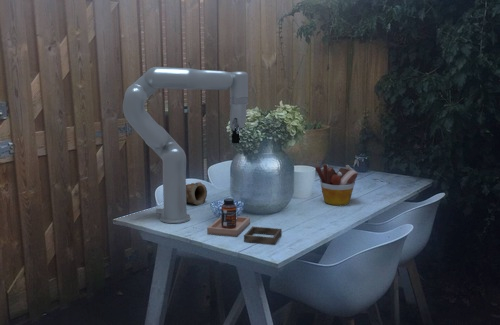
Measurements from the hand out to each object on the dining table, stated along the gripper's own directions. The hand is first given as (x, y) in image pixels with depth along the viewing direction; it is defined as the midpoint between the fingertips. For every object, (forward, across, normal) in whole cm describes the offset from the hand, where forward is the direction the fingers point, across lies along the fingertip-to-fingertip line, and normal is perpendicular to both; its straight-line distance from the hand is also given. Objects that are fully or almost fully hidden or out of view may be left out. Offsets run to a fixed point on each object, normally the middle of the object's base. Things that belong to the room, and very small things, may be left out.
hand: (239, 141), depth 223 cm
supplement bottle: (+32, +20, +2) cm, 38 cm away
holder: (+32, +28, +18) cm, 46 cm away
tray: (+32, +20, +2) cm, 38 cm away
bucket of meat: (+32, -33, +38) cm, 60 cm away
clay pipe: (+33, -16, -29) cm, 46 cm away
